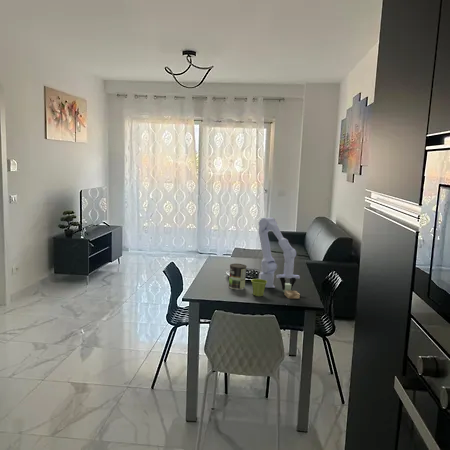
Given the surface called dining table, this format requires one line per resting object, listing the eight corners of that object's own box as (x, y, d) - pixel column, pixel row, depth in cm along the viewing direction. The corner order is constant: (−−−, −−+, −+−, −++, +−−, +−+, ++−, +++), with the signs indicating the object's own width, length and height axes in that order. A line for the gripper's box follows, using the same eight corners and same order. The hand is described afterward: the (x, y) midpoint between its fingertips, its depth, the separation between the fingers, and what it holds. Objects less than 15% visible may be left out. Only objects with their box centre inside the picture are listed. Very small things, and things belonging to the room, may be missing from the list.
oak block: (288, 298, 252) (288, 294, 252) (284, 295, 259) (284, 290, 259) (299, 299, 254) (299, 294, 253) (295, 295, 260) (295, 290, 260)
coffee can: (232, 290, 261) (233, 267, 259) (226, 285, 271) (227, 263, 269) (247, 289, 265) (249, 267, 263) (241, 284, 275) (242, 263, 273)
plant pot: (249, 292, 259) (250, 278, 258) (264, 292, 260) (265, 279, 259) (251, 297, 250) (252, 282, 249) (267, 297, 251) (268, 283, 250)
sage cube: (284, 292, 263) (285, 284, 262) (282, 290, 267) (283, 283, 266) (290, 292, 264) (291, 285, 263) (288, 290, 268) (289, 283, 267)
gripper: (279, 269, 258) (277, 291, 260) (302, 270, 261) (300, 291, 263) (275, 266, 265) (274, 288, 267) (298, 267, 268) (296, 288, 269)
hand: (286, 289), depth 265 cm, fingers closed on sage cube, 4 cm apart
